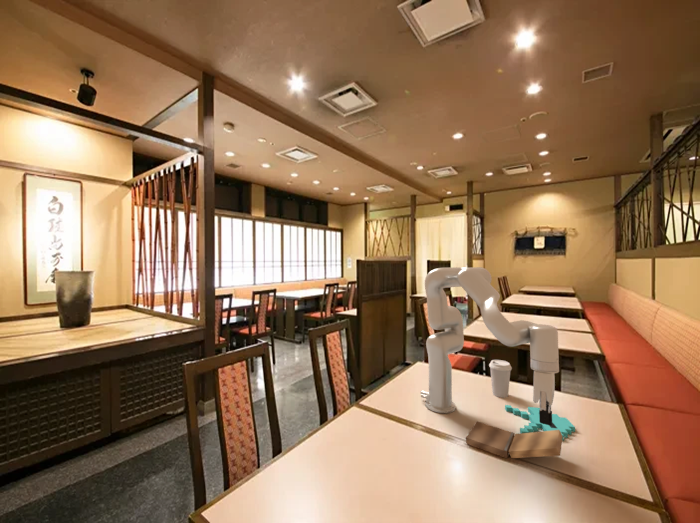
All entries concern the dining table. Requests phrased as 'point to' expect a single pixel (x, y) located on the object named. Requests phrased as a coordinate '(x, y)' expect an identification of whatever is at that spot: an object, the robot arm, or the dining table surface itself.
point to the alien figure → (534, 418)
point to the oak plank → (536, 444)
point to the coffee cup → (500, 377)
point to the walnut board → (490, 439)
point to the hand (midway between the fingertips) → (545, 423)
